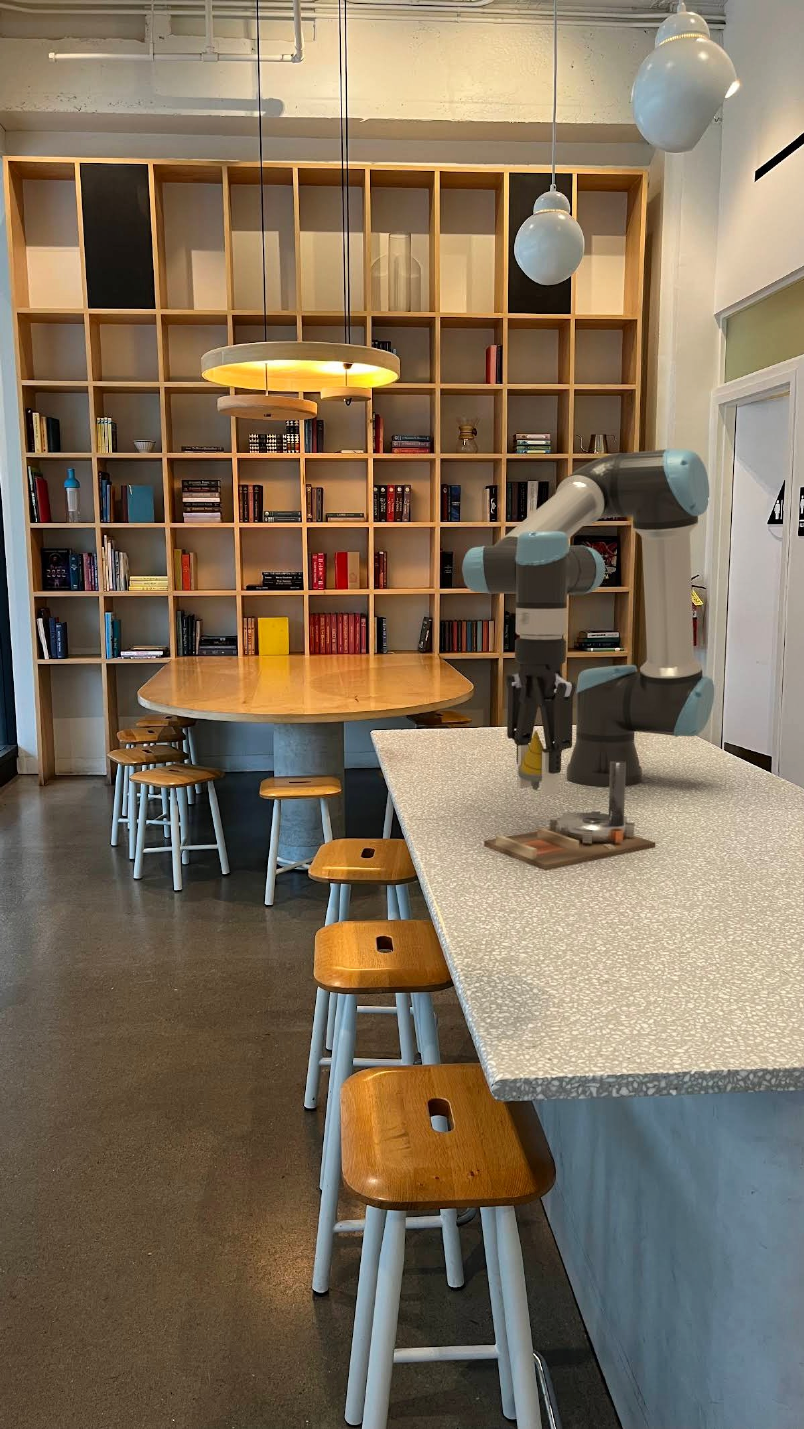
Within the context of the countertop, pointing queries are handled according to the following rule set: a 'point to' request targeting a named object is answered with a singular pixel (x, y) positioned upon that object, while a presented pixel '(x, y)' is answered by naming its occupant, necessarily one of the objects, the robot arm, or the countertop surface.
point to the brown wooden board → (561, 848)
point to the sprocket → (599, 815)
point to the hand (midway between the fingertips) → (537, 789)
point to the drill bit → (532, 763)
